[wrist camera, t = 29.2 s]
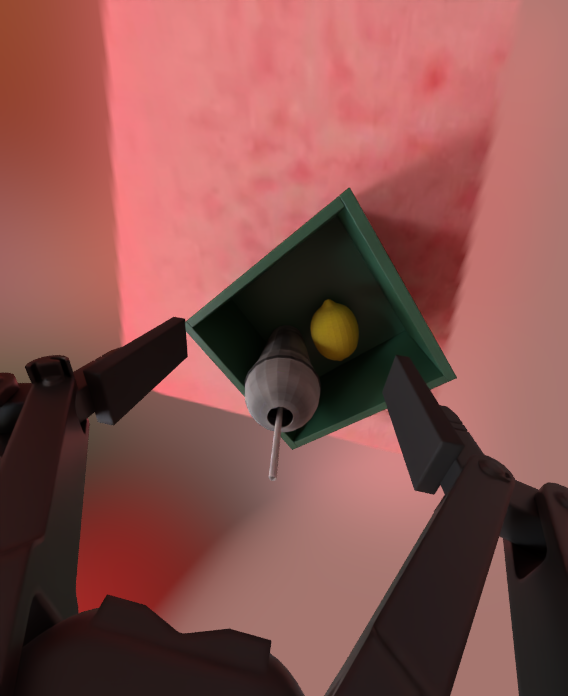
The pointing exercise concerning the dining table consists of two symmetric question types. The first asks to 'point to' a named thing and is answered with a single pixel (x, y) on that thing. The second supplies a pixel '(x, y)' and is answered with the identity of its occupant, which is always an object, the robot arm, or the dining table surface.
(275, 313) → the green open box
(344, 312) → the lemon
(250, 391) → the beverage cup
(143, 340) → the robot arm
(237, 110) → the dining table surface
